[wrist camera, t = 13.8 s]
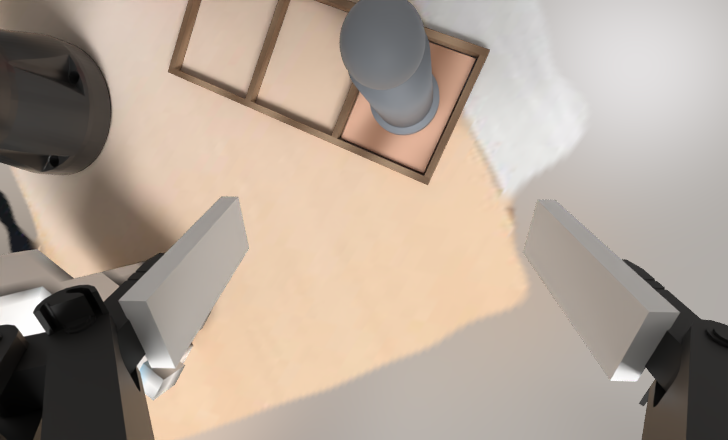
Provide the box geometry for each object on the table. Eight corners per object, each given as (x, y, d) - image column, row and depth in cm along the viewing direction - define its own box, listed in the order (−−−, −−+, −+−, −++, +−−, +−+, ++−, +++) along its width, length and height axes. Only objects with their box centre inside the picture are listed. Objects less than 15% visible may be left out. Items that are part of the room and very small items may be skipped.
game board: (173, 74, 34) (167, 71, 34) (208, -45, 32) (203, -51, 32) (427, 185, 30) (427, 184, 29) (488, 53, 27) (490, 49, 27)
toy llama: (200, 375, 37) (-58, 576, 18) (91, 288, 40) (-239, 383, 20) (228, 324, 36) (-21, 483, 16) (113, 237, 38) (-221, 287, 19)
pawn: (361, 120, 30) (296, 64, 16) (388, 56, 29) (342, -62, 15) (421, 145, 29) (405, 107, 15) (451, 79, 28) (462, -24, 14)
